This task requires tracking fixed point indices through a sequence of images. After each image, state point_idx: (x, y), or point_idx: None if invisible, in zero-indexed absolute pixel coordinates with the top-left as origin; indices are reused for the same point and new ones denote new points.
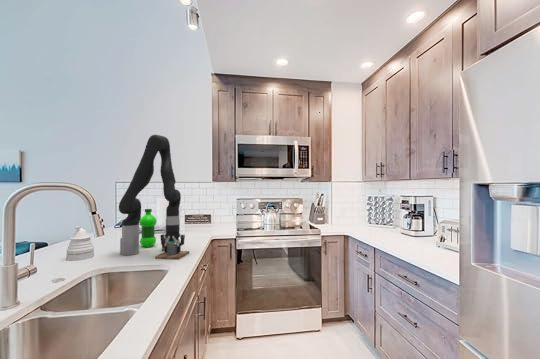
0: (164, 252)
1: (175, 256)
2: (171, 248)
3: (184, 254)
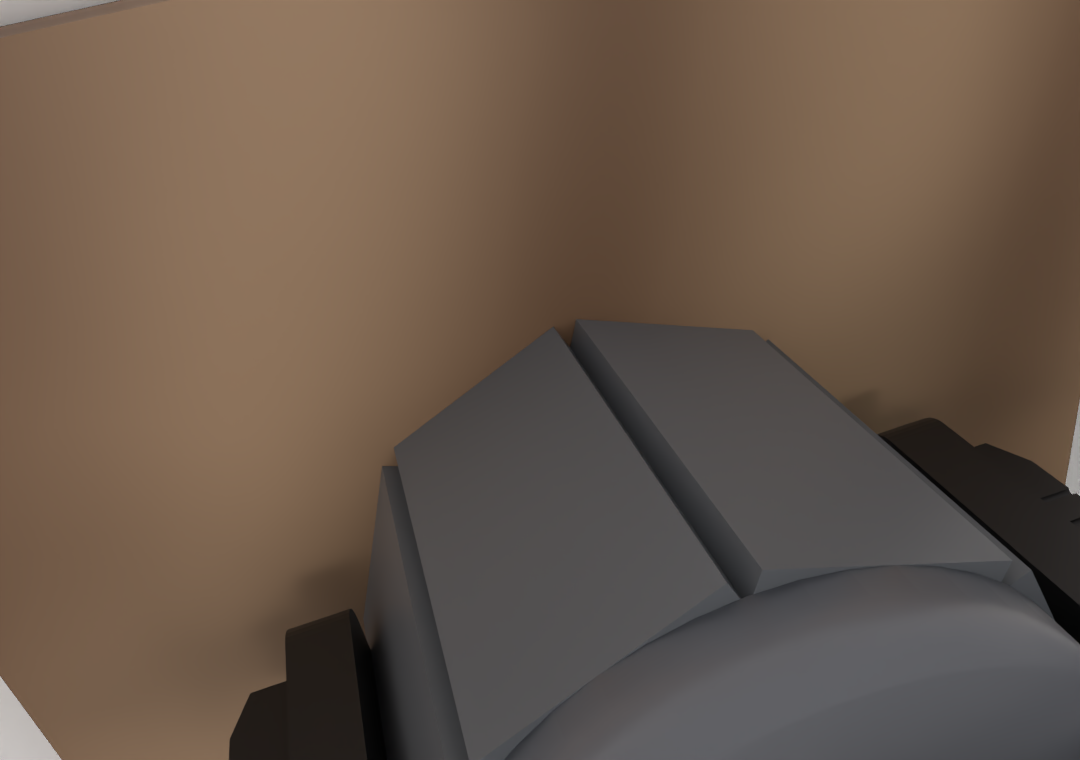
0: None
1: (66, 227)
2: (637, 590)
3: (55, 723)
